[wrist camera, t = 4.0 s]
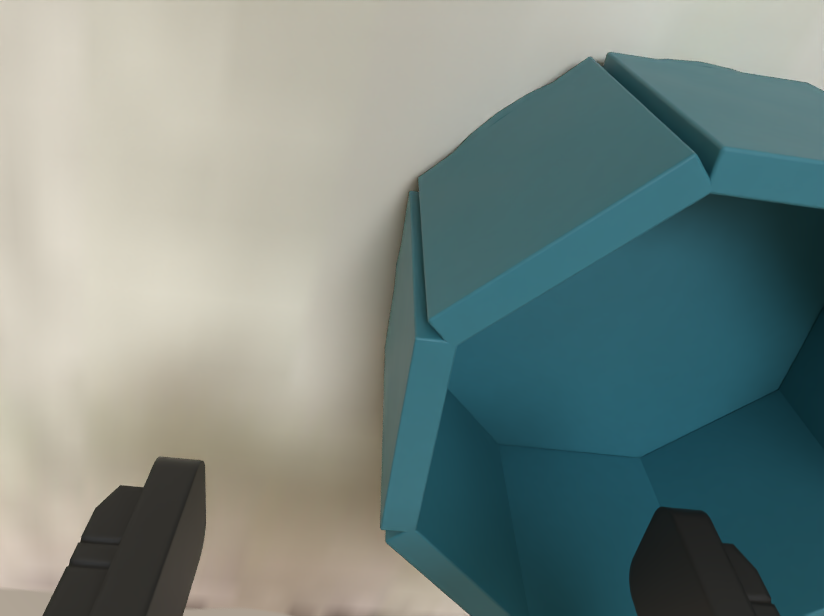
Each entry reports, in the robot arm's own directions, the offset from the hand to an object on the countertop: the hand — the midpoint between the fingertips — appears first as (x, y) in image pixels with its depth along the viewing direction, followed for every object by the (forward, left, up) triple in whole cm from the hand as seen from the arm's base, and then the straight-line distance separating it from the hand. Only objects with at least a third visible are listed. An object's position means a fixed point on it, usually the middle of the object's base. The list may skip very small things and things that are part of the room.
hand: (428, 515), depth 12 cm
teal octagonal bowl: (+6, 0, -10) cm, 11 cm away
